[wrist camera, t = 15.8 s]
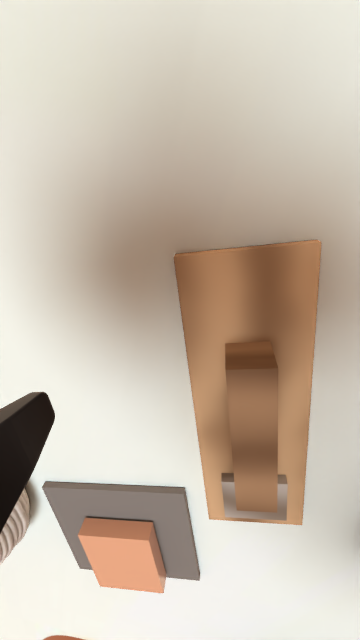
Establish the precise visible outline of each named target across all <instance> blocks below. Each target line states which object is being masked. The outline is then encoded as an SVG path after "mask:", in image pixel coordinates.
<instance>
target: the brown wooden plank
mask: <svg viewBox="0 0 360 640" xmlns="http://www.w3.org/2000/svg"><path fill="white" fill-rule="evenodd" d="M225 371H226V384H227V396H228V409H229V421H230V434H231V446H232V459H233V471H234V473H221V483H222V492H223V502H224V511H225V517H232V518H249V519H266V520H283V521H287V490H288V484H287V479H286V475H278V365H277V362H276V359H275V355H274V352H273V349H272V345H271V342H270V341H265V342H244V343H225Z"/></svg>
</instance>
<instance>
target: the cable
mask: <svg viewBox="0 0 360 640" xmlns="http://www.w3.org/2000/svg"><path fill="white" fill-rule="evenodd" d="M29 518H30V516H29V499H28V496H27V493H26V490H25V488H24V490H23V492H22V494H21V496H20V498H19V499H18V501H17V503H16V505H15V507H14V509H13V511H12V513H11V515H10V517H9V518H8V520H7V522H6V524H5V526H4V528H3V530H2V532H1V534H0V564H1V563H3V561H4V560H5V558H6V557H8V556H9V554H10V553H11V551H12V549H13V548H14V547H15V546H16V545H17V544H18V543H19V542H20V541H21V540H22V538H23V537H24V535H25V533H26V531H27V528H28V525H29Z"/></svg>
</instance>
